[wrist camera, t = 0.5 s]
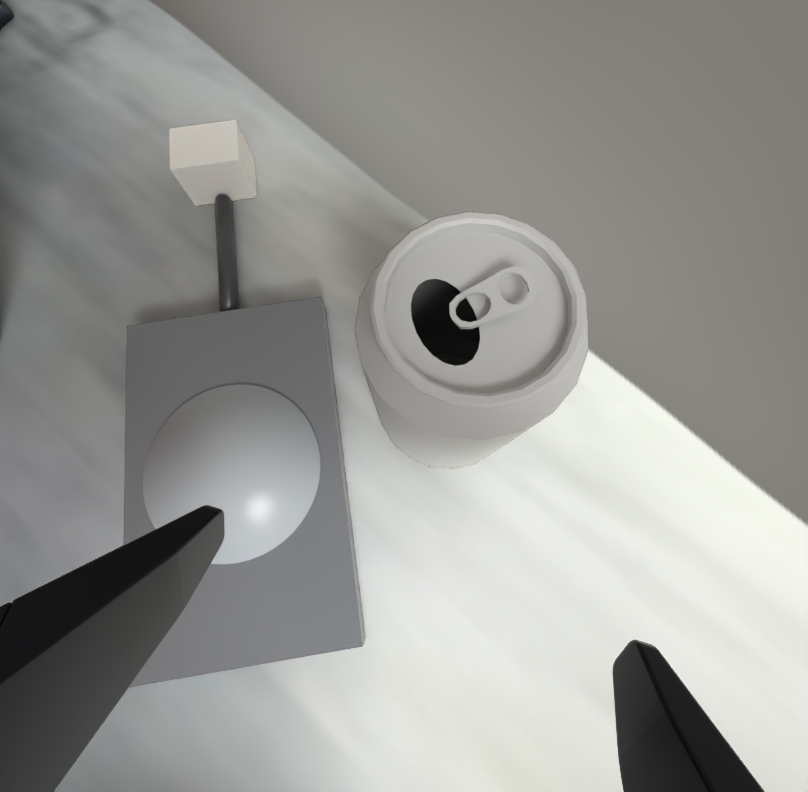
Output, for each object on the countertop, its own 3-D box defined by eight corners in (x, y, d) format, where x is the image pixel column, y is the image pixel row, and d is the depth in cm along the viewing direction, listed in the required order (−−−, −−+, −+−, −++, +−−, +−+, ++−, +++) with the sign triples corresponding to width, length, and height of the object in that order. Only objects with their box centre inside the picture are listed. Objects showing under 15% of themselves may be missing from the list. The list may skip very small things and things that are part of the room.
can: (359, 367, 24) (312, 235, 12) (479, 322, 25) (540, 157, 13) (407, 491, 22) (404, 473, 11) (535, 440, 23) (665, 369, 11)
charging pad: (365, 638, 20) (357, 659, 17) (138, 678, 20) (92, 706, 17) (306, 152, 28) (294, 111, 25) (141, 175, 28) (109, 136, 25)
